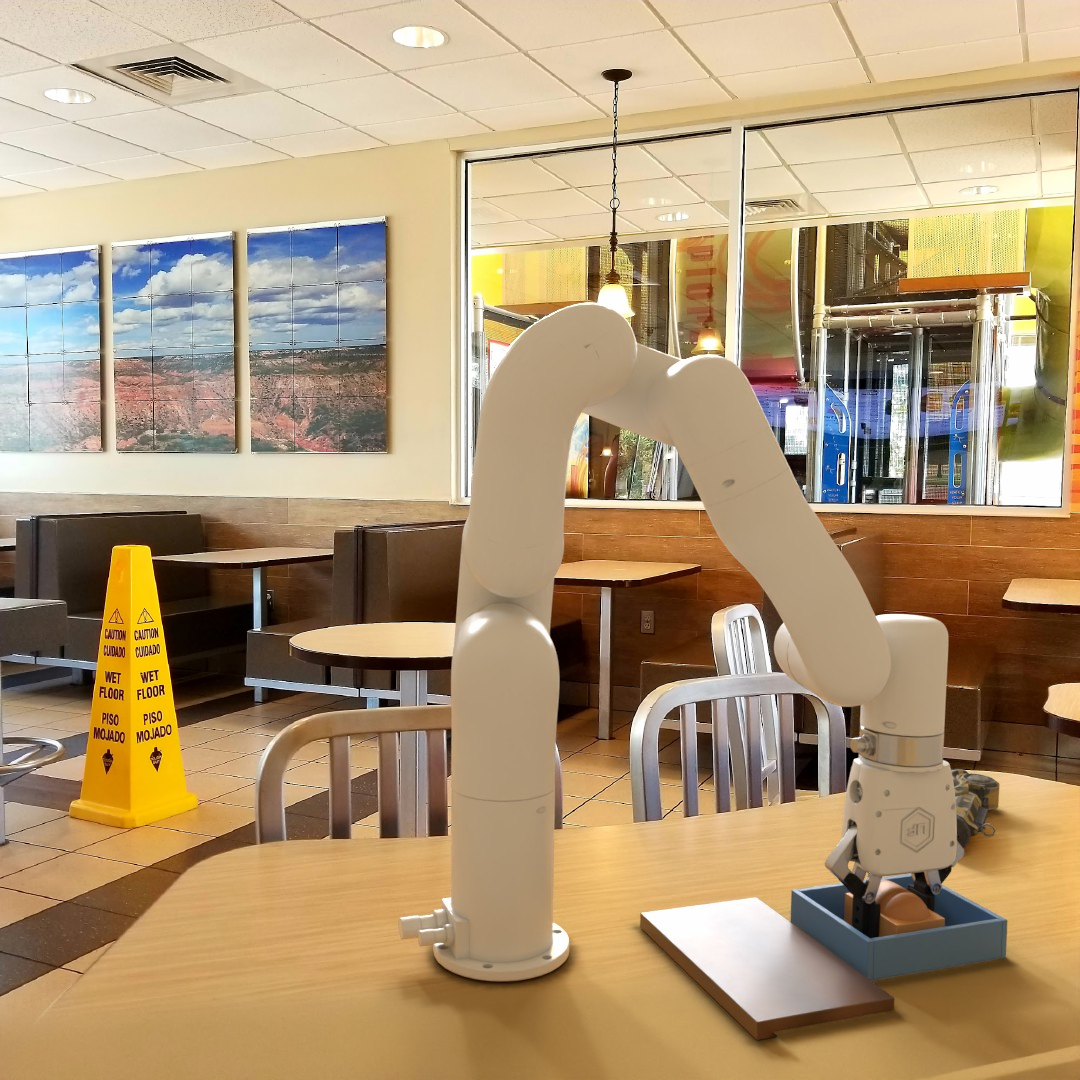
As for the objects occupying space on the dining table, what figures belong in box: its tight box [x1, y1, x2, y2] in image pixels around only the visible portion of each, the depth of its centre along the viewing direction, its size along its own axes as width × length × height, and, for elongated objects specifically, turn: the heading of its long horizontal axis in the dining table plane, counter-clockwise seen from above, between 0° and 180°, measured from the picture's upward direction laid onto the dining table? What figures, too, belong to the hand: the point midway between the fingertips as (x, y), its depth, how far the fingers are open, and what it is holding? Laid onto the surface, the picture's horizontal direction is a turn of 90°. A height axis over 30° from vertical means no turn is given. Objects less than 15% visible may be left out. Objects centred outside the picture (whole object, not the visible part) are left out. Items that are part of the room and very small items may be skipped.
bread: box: [844, 880, 945, 937], centre depth 102 cm, size 5×8×5 cm
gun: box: [951, 768, 1000, 849], centre depth 140 cm, size 5×26×15 cm
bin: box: [790, 873, 1008, 982], centre depth 102 cm, size 15×12×4 cm
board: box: [639, 896, 895, 1041], centre depth 97 cm, size 13×22×2 cm, turn 19°
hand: (892, 933), depth 102 cm, fingers closed on bread, 5 cm apart
